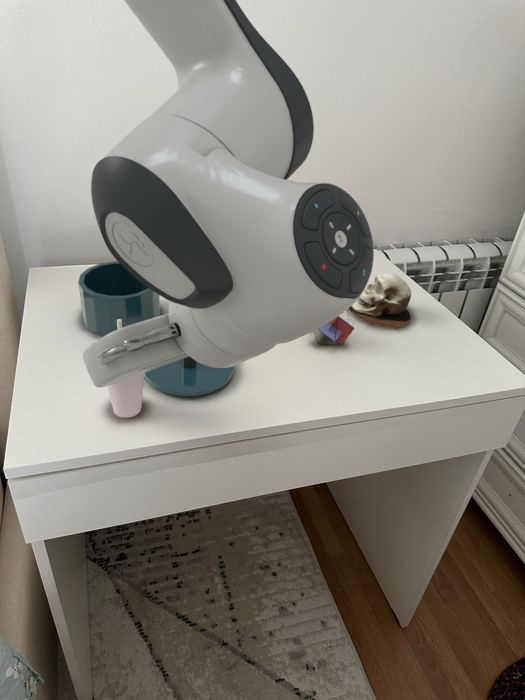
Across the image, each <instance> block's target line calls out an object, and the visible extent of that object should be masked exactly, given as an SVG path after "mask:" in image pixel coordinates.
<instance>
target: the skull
mask: <svg viewBox="0 0 525 700" xmlns="http://www.w3.org/2000/svg"><path fill="white" fill-rule="evenodd" d="M411 298H412V290H411V286H410V285H409V284H408V282H406V281H405V280H404V279H403V278H402V277H401V276H399V275H397V274H395V273H393V272H391V273H390V272H386V273H381V274H378V275H375V277H374V282H371V283H368V284H367V285H366V287H365V289H364V291H363V293H362V294H361V296H360V297H359V298H358V299H357V301H356V302H355V303H354V304H353V305H352V306H350V307H349V308H348V310H349V311H350V313H352V314H353V315H354V316H356V317H357V318H358V319H360V320H362V321H364V322H366V323H369V324H370V325H371V326H377V327H382V328H390V329H391V328H396V329H397V328H401V327H404V326H407V325H408V324H409V323H411V320H412V315H411V312H410V311H409V310H408V309H407V307H408V306H409V304H410V302H411Z"/></svg>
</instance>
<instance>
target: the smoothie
mask: <svg viewBox="0 0 525 700" xmlns="http://www.w3.org/2000/svg"><path fill="white" fill-rule="evenodd" d="M117 327H118V329H120V328H122V320H121V319H118V320H117ZM144 384H145V373H142V374H139V375H137V376H134V377H131V378H128V379H126V380H123V381H120V382H117V383H115V384H112V385H109V386H106V388H107V391H108V395H109V399H110V402H111V406H112V410H113V413H114V414H115V415H116V416H117V417H119V418H122V419H128V418H133V417H136V416H137V415H138V414H140V413H141V411H142V405H143V394H144V387H145V386H144Z"/></svg>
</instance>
